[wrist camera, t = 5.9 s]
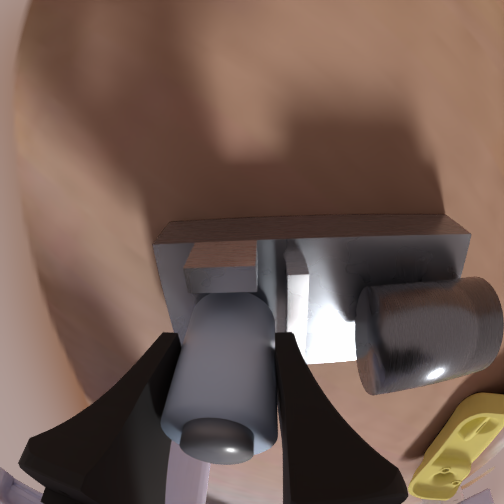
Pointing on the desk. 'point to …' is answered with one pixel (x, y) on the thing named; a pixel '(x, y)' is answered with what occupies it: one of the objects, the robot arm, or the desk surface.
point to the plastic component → (458, 446)
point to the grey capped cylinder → (225, 381)
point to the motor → (346, 289)
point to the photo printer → (453, 500)
